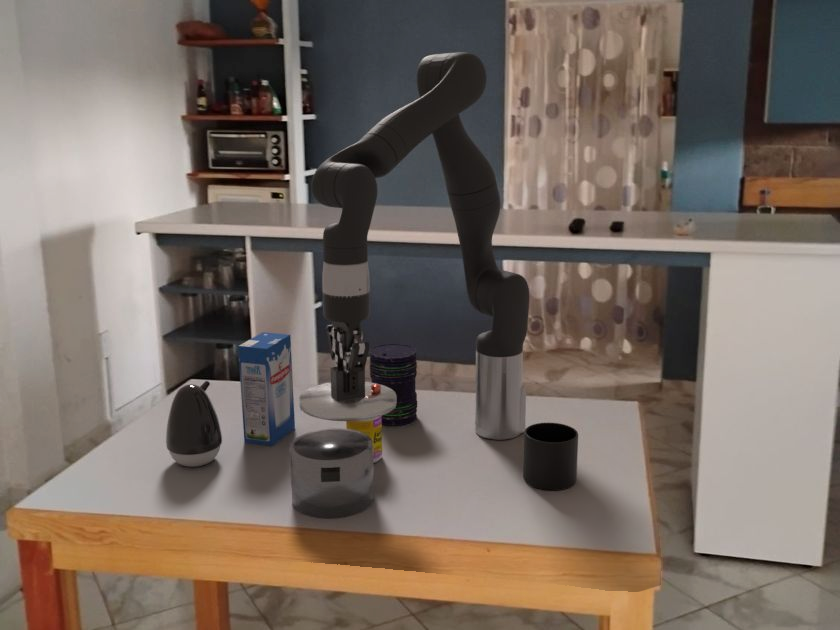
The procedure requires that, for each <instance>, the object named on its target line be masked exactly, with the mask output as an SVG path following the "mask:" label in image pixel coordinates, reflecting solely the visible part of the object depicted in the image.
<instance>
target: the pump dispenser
mask: <svg viewBox="0 0 840 630" xmlns="http://www.w3.org/2000/svg"><path fill="white" fill-rule="evenodd" d="M210 385H211V382H209V381H208V380H205V381H204V382H203V383H201V385H200V386H199V385H197V384H193V383H191V384H186V385H183V386H181V387H180V388H179V389H178V390H177V392H176V393H175V396H174V397H173V399H172V402H171V406H170V409H169V413H168V418H167V423H166V434H165V445H166V449H167V450H168V452H169V454H170V456H171V458H172V459H173V460H174V461H175V462H176V463H178V464H179V465H181V466H185V467H188V468H193V467H194V468H195V467H196V468H197V467H202V466H205V465H208V464H209V463H211V462H212V461H213V460H214V459H215V458H216V457H217V456H218V454H219V452H220V450H221V445H222V443H223V435H222V429H221V424H220V421H219V417H218V414H217V411H216V409H215V407H214V405H213V403H212V400H211V399H210V397H209V395H208V394H207V392H206V391H207V390H208V389H209V387H210Z"/></svg>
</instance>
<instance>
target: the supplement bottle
mask: <svg viewBox="0 0 840 630" xmlns="http://www.w3.org/2000/svg"><path fill="white" fill-rule="evenodd" d="M345 422H346V428H345V429H350V430H355V431H359V432H362V433H364V434H366V435H368V436H369V437H370V438H371V439H372V441H373V464H374V463H376V462H379V461H380V460H381V459H382V457H383V426H382V416H379V417H376V418H372V419H366V420H359V421H345Z"/></svg>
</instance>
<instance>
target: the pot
mask: <svg viewBox="0 0 840 630" xmlns="http://www.w3.org/2000/svg"><path fill="white" fill-rule="evenodd" d="M289 464H290V465H289V468H290V481H291V482H290V483H291V486H290V487H291V500H292V501H291V502H292V506H293V507H294V509H295V510H296V511H297V512H299V513H301V514H303V515H305V516H308V517H313V518H317V519H318V518H320V519H338V518H340V519H341V518H345V517H350V516H353V515H356V514H357V515H358V514H359V513H362V512H363V511H365V510H367V509H368V508H370V506H372V504H373V503H374V500H375V473H374V472H375V471H374V470H375V469H374V463H373V441H372V439H371V438H370V437H369V436H368V435H366V434H364V433H362V432H359V431H355V430H350V429H346V428H339V427H338V428H336V427H335V428H322V429H316V430H312V431H308V432H305V433H303V434H300V435H298V436H297V437H295V438H294V439H293V440H291V442H290V444H289Z"/></svg>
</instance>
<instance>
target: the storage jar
mask: <svg viewBox="0 0 840 630" xmlns="http://www.w3.org/2000/svg"><path fill="white" fill-rule="evenodd" d="M416 355H417V349H416V348H415V347H413V346H411V345H408V344H401V343H387V344H380V345H377V346H374V347H372V348H370V349H369V376H370V377H369V378H370V379H371V383H376V384H380V385H384V386H386V387H388V388H390V389H392V390H393V391H394V392H395V393H396V396H397V403H396V407H395V408H394V409H393V410H392V411H390V412H389V413H387V414H385V415H382V427H385V428H400V427H401V428H402V427H407V426H408V425H412V424H414V423H415V422H416V421H417V420H418V416H417V412H418V394H417V392H416V391H417V390H416V389H417V388H416V377H417V372H418V371H417V369H418V368H417V367H418V365H417V364H418V362H417V356H416Z"/></svg>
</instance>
